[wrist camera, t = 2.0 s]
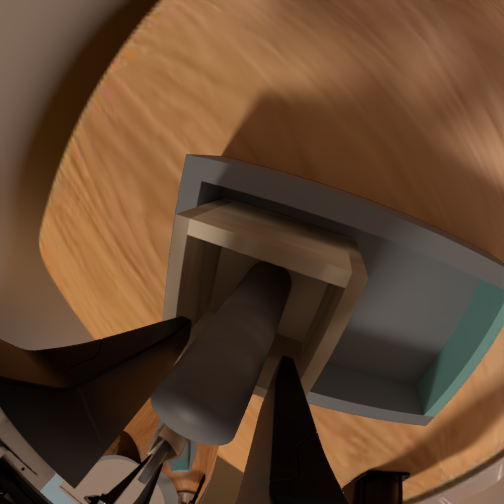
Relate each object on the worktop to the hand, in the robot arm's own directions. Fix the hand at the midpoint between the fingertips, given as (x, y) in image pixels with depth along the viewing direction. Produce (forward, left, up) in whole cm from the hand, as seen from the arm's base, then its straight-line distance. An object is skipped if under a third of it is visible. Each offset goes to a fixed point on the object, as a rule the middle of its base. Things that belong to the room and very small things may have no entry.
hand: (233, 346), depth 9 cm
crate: (0, 0, -6) cm, 6 cm away
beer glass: (+2, +10, -8) cm, 13 cm away
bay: (-4, 0, -8) cm, 9 cm away
